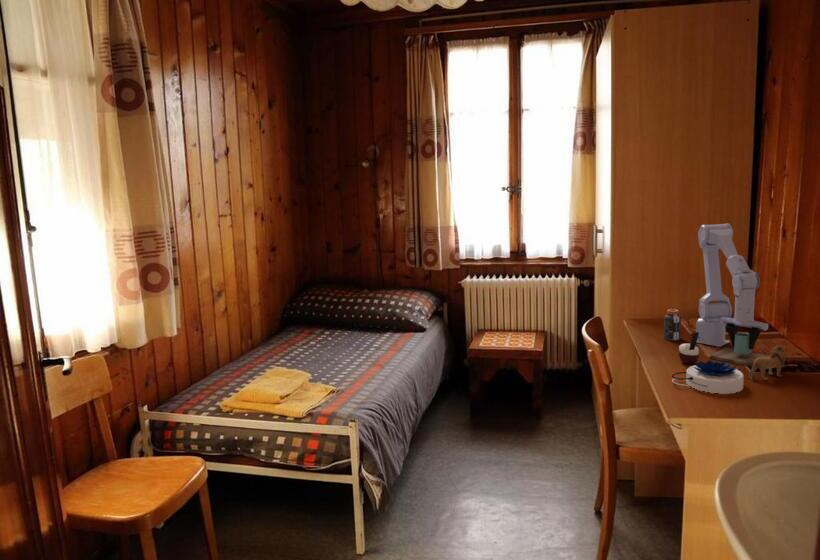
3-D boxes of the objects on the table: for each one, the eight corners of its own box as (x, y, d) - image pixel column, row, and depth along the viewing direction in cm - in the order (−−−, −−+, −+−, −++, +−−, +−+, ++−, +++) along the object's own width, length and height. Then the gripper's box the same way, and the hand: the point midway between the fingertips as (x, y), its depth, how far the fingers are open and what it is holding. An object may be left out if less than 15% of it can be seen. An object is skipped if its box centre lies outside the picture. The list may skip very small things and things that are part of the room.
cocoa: (679, 357, 212) (680, 324, 210) (699, 359, 209) (700, 325, 207) (677, 366, 204) (678, 331, 202) (698, 368, 201) (699, 332, 199)
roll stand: (710, 358, 210) (710, 344, 209) (726, 350, 217) (726, 336, 216) (759, 368, 198) (760, 353, 197) (774, 359, 205) (775, 345, 204)
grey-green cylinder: (731, 351, 207) (732, 334, 206) (738, 348, 210) (738, 331, 209) (747, 354, 203) (747, 337, 202) (753, 351, 206) (754, 334, 205)
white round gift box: (733, 355, 191) (666, 356, 195) (752, 372, 176) (678, 372, 180) (732, 376, 193) (666, 376, 196) (750, 395, 178) (678, 394, 181)
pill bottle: (682, 340, 231) (683, 311, 229) (665, 340, 232) (666, 311, 230) (678, 336, 237) (679, 308, 235) (662, 336, 238) (663, 308, 236)
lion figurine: (772, 369, 196) (774, 342, 194) (789, 374, 191) (791, 346, 189) (743, 379, 189) (745, 351, 187) (760, 384, 184) (761, 355, 183)
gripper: (716, 307, 207) (715, 345, 210) (762, 313, 196) (760, 354, 199) (726, 303, 212) (724, 341, 214) (771, 309, 200) (769, 349, 203)
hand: (742, 347), depth 207 cm, fingers closed on grey-green cylinder, 5 cm apart
